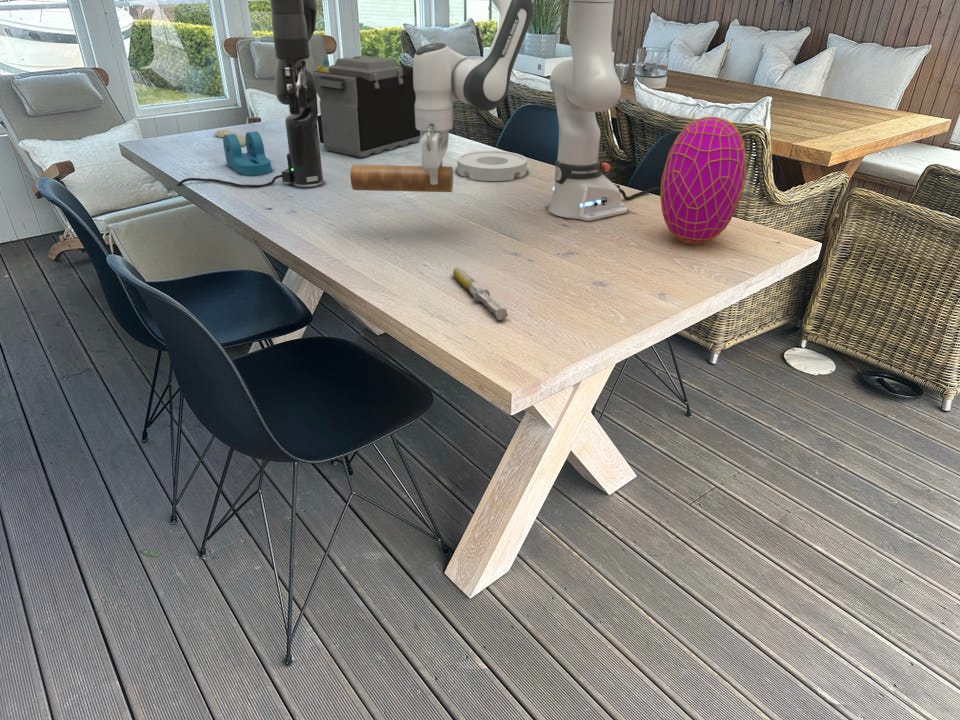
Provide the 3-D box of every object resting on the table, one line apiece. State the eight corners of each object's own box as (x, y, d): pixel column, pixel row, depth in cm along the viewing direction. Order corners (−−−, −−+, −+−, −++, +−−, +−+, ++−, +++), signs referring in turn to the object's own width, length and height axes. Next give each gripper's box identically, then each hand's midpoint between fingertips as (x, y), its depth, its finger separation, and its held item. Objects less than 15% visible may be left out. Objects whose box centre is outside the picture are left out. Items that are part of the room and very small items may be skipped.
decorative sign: (264, 139, 260) (239, 143, 254) (265, 142, 261) (240, 146, 255) (233, 128, 277) (209, 131, 271) (233, 130, 277) (209, 134, 271)
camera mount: (227, 164, 233) (221, 132, 227) (257, 160, 238) (252, 129, 233) (244, 176, 220) (239, 143, 215) (276, 172, 225) (271, 139, 220)
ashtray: (459, 161, 239) (459, 150, 237) (525, 163, 239) (526, 151, 237) (455, 180, 219) (455, 167, 217) (527, 181, 219) (528, 169, 217)
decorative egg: (709, 261, 163) (734, 131, 148) (638, 240, 174) (655, 118, 159) (744, 240, 175) (770, 118, 160) (676, 222, 187) (694, 107, 171)
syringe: (449, 274, 155) (449, 263, 153) (465, 272, 156) (464, 260, 154) (490, 323, 135) (491, 310, 133) (508, 319, 136) (508, 307, 134)
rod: (351, 193, 167) (349, 168, 164) (357, 186, 172) (355, 161, 169) (450, 195, 166) (450, 170, 163) (453, 187, 171) (452, 163, 168)
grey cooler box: (383, 133, 276) (378, 52, 261) (425, 141, 265) (422, 56, 250) (314, 150, 251) (304, 61, 235) (358, 160, 240) (350, 67, 224)
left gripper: (300, 38, 148) (309, 117, 156) (313, 32, 160) (320, 105, 169) (265, 38, 148) (276, 116, 156) (281, 32, 160) (290, 105, 169)
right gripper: (442, 130, 151) (444, 192, 158) (452, 111, 168) (453, 168, 176) (413, 130, 151) (417, 191, 158) (426, 111, 169) (428, 167, 176)
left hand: (299, 110), depth 163 cm, fingers open, 8 cm apart
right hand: (436, 179), depth 167 cm, fingers closed on rod, 6 cm apart
